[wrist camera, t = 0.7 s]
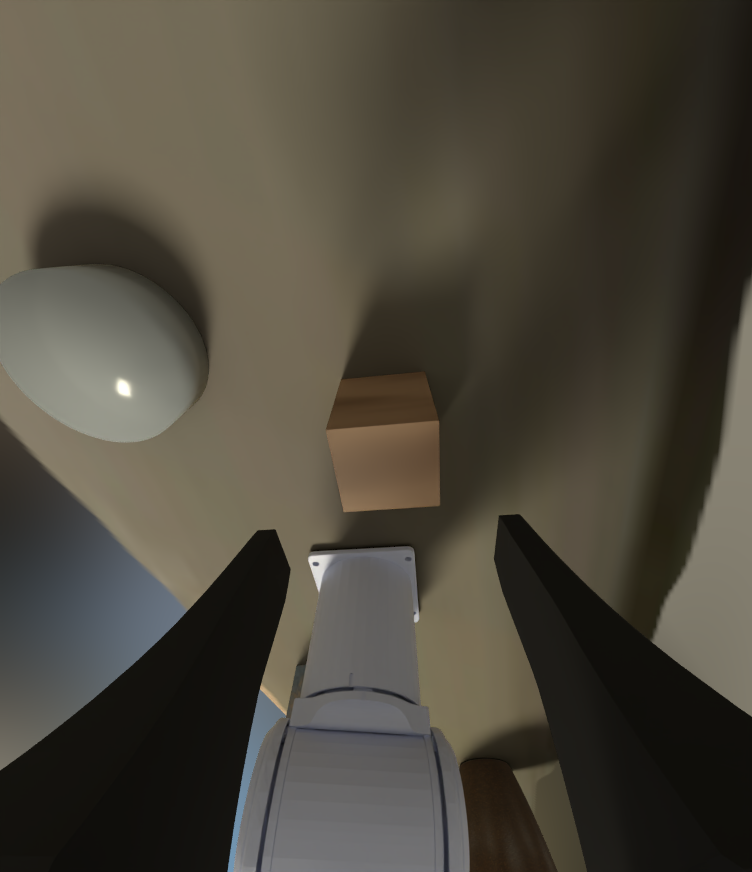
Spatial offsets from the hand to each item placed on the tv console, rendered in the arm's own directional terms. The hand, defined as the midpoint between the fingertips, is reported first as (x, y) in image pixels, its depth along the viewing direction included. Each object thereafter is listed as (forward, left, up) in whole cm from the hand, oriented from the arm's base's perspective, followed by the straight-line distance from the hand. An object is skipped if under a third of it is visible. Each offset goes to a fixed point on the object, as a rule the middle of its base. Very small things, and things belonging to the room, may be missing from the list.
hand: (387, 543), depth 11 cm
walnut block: (0, 0, -9) cm, 9 cm away
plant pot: (-61, -9, -10) cm, 62 cm away
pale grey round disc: (+5, +13, -10) cm, 17 cm away
